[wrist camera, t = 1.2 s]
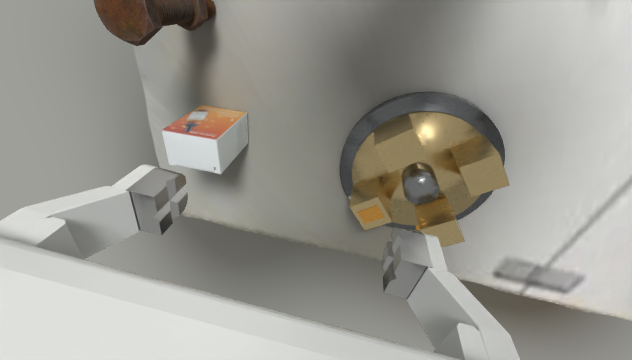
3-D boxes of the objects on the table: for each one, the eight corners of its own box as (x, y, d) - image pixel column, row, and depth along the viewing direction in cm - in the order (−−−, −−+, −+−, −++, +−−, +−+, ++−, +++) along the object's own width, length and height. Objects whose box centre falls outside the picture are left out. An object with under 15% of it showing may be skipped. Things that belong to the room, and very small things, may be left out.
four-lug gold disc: (465, 83, 35) (481, 98, 30) (505, 199, 43) (523, 226, 38) (329, 147, 43) (323, 168, 38) (383, 235, 51) (385, 262, 46)
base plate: (473, 57, 35) (477, 59, 34) (517, 197, 44) (522, 203, 43) (314, 137, 45) (312, 142, 43) (378, 238, 54) (378, 244, 53)
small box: (248, 111, 44) (218, 139, 36) (249, 143, 47) (221, 175, 39) (200, 103, 45) (159, 129, 36) (204, 135, 48) (168, 165, 39)
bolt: (227, 30, 38) (157, 46, 26) (193, 30, 39) (110, 46, 27) (217, -22, 35) (133, -32, 23) (181, -21, 36) (80, -30, 23)
